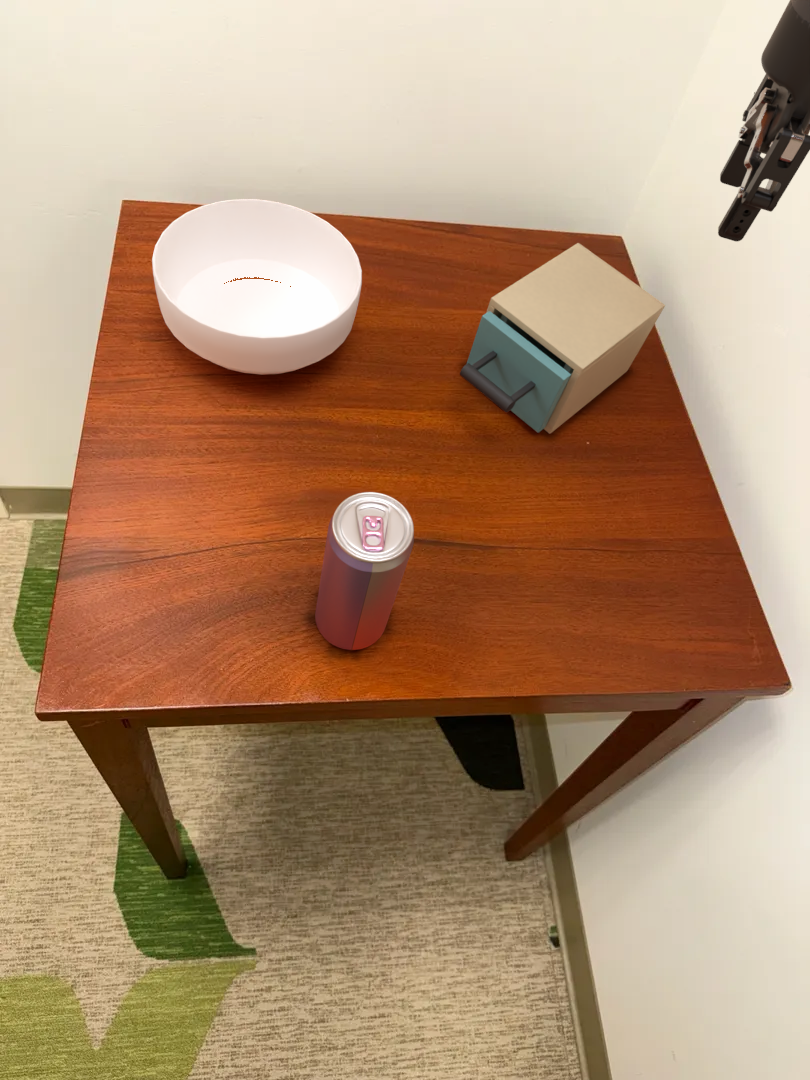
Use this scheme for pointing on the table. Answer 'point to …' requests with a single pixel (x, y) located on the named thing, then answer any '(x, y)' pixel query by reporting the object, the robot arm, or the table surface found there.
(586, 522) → the table surface
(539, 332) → the beige box
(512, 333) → the drawer
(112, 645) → the table surface
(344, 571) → the beverage can
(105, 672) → the table surface
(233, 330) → the bowl
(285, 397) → the table surface
